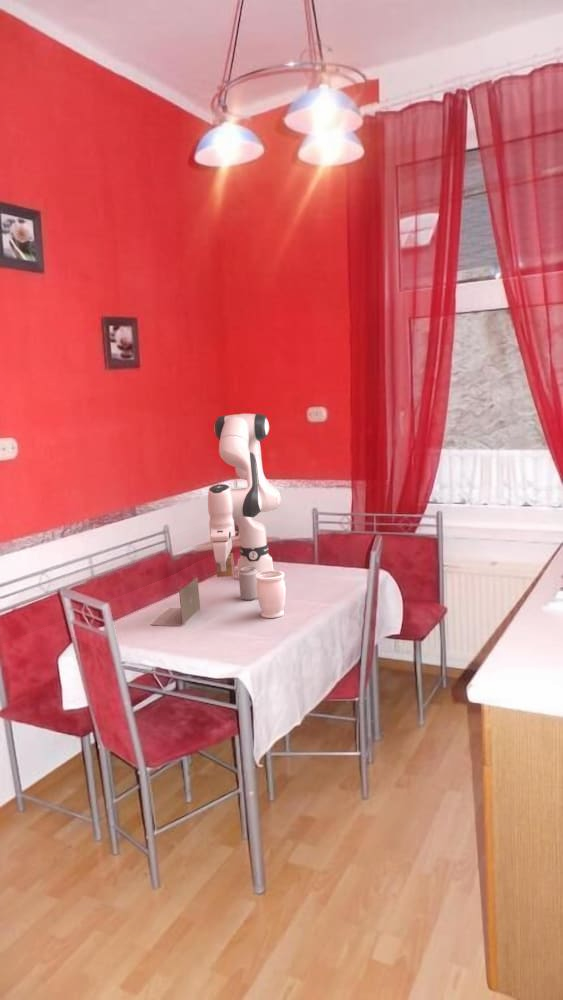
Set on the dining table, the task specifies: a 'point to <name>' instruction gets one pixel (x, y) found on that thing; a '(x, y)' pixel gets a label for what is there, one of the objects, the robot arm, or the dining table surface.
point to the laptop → (182, 607)
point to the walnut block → (229, 567)
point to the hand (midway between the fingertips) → (225, 568)
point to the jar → (271, 593)
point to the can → (248, 583)
